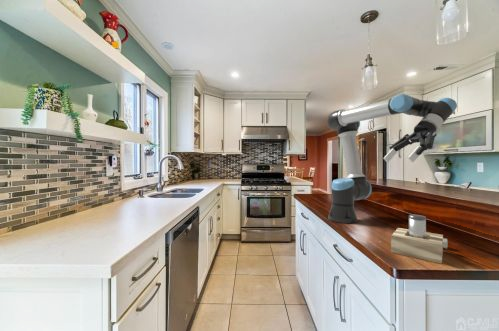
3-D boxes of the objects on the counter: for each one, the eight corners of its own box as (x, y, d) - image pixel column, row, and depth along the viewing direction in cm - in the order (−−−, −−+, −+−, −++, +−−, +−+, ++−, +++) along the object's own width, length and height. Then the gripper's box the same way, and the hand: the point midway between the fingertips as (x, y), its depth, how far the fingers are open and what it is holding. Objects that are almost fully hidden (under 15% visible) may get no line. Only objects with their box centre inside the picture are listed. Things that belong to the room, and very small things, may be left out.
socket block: (397, 242, 93) (397, 227, 93) (442, 251, 84) (442, 234, 84) (391, 252, 82) (391, 235, 82) (441, 263, 73) (442, 245, 73)
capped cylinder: (410, 245, 86) (409, 213, 86) (426, 248, 83) (426, 215, 83) (407, 249, 83) (407, 216, 83) (425, 252, 79) (424, 218, 79)
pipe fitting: (423, 242, 95) (420, 244, 91) (423, 232, 96) (420, 234, 91) (448, 247, 90) (446, 250, 85) (448, 237, 90) (446, 239, 85)
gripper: (462, 128, 89) (429, 166, 87) (409, 136, 114) (381, 165, 112) (451, 114, 88) (417, 152, 86) (399, 125, 113) (372, 155, 111)
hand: (397, 160), depth 99 cm, fingers open, 13 cm apart
